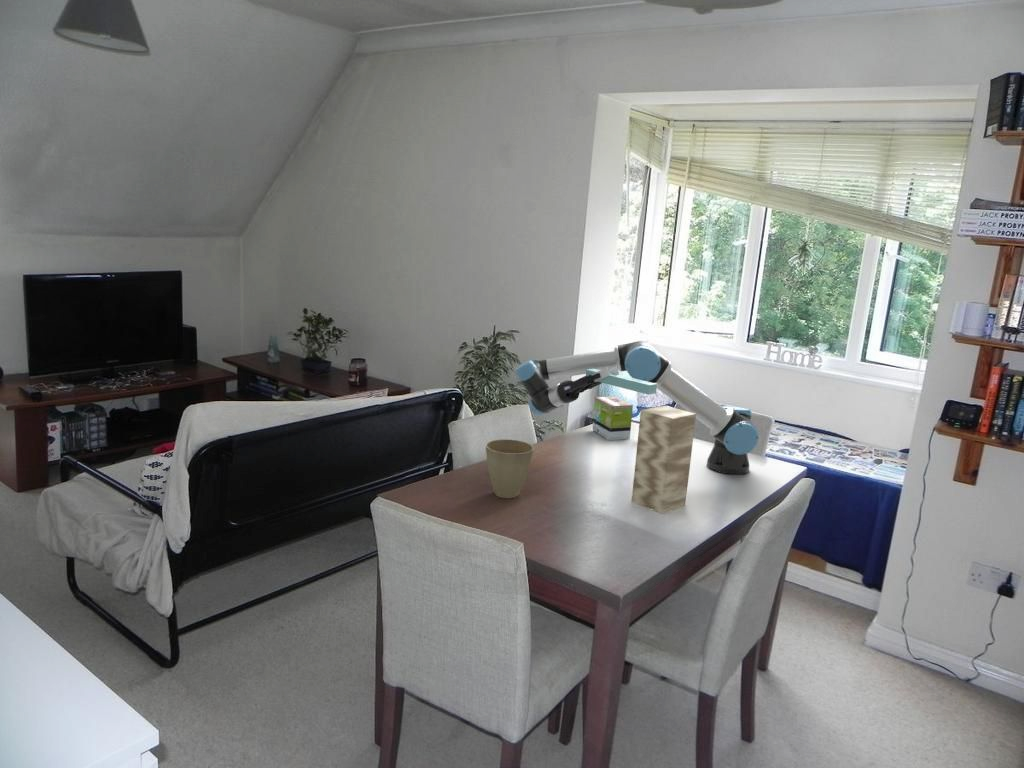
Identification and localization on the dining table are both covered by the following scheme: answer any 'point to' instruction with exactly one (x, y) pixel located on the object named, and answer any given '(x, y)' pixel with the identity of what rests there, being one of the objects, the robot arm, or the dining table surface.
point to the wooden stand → (663, 458)
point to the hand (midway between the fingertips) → (612, 371)
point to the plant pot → (508, 465)
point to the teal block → (626, 382)
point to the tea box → (612, 418)
